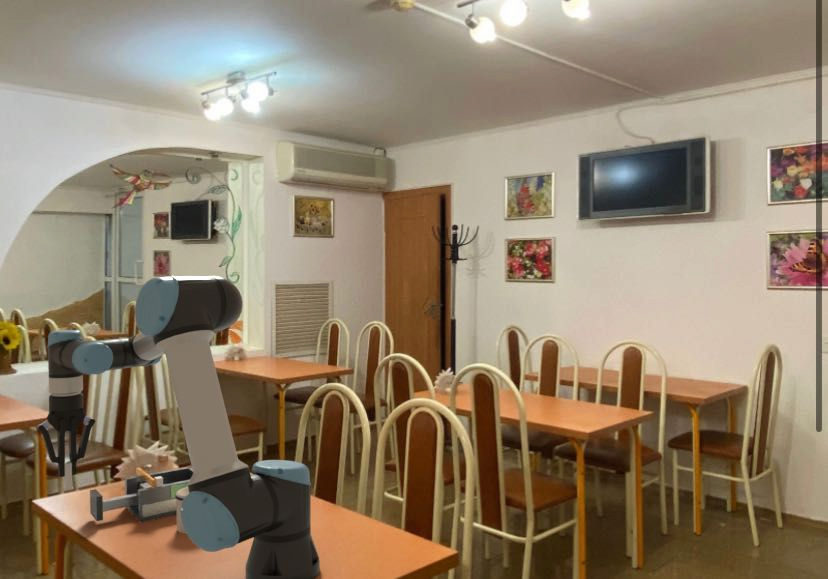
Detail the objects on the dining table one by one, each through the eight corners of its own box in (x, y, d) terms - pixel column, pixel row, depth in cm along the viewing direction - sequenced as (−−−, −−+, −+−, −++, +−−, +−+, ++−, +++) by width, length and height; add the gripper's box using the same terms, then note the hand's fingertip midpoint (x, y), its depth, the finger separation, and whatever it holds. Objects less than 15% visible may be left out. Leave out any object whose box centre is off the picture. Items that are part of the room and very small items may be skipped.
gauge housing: (210, 507, 183) (210, 477, 183) (140, 522, 172) (140, 491, 172) (192, 494, 195) (191, 466, 195) (125, 507, 184) (124, 478, 184)
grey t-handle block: (168, 510, 177) (168, 477, 177) (100, 525, 167) (99, 490, 167) (152, 496, 188) (151, 465, 188) (87, 509, 178) (86, 476, 178)
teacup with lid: (189, 538, 162) (189, 489, 162) (168, 529, 168) (167, 482, 168) (232, 523, 172) (231, 477, 171) (210, 515, 177) (209, 470, 177)
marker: (163, 485, 176) (163, 477, 176) (156, 486, 175) (156, 479, 175) (160, 483, 177) (160, 476, 177) (154, 485, 176) (154, 477, 176)
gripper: (91, 388, 175) (92, 479, 176) (33, 394, 167) (35, 489, 168) (98, 392, 169) (99, 487, 170) (38, 398, 161) (40, 498, 162)
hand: (67, 488), depth 169 cm, fingers closed
